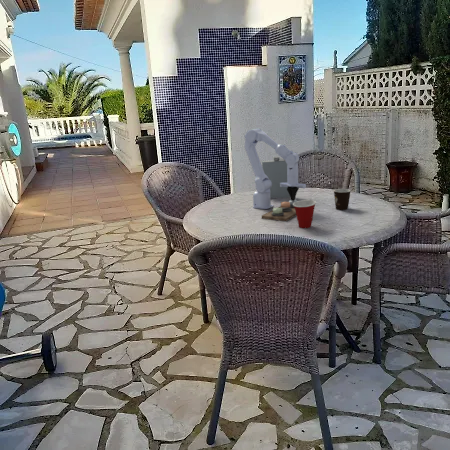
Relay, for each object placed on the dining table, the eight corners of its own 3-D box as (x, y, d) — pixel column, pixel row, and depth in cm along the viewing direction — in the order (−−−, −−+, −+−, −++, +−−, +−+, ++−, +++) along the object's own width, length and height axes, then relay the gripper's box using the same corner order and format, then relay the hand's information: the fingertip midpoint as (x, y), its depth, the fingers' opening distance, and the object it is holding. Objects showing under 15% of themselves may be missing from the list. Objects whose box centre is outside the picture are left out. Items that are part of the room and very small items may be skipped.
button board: (261, 218, 220) (261, 213, 219) (285, 206, 241) (285, 201, 240) (285, 221, 212) (285, 216, 211) (308, 208, 233) (308, 204, 232)
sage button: (271, 213, 218) (271, 209, 217) (275, 210, 222) (275, 207, 221) (279, 214, 215) (279, 210, 215) (283, 211, 219) (283, 208, 218)
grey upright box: (291, 195, 264) (290, 155, 257) (291, 197, 260) (290, 156, 253) (263, 196, 267) (262, 156, 260) (263, 198, 263) (261, 157, 256)
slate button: (287, 205, 232) (287, 201, 231) (291, 203, 236) (291, 199, 235) (295, 205, 229) (295, 202, 229) (299, 203, 233) (299, 200, 232)
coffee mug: (350, 210, 223) (351, 192, 220) (333, 210, 225) (334, 192, 222) (349, 205, 234) (349, 187, 231) (333, 205, 236) (333, 187, 233)
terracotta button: (279, 207, 225) (279, 203, 224) (283, 204, 228) (283, 201, 228) (287, 207, 222) (287, 204, 221) (291, 205, 226) (291, 202, 225)
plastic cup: (290, 224, 206) (290, 200, 203) (312, 222, 207) (312, 198, 204) (295, 231, 196) (295, 205, 193) (318, 229, 197) (318, 204, 193)
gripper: (277, 176, 229) (277, 200, 233) (301, 177, 221) (302, 203, 225) (283, 174, 234) (283, 197, 238) (307, 175, 226) (307, 200, 230)
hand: (293, 200), depth 232 cm, fingers closed
